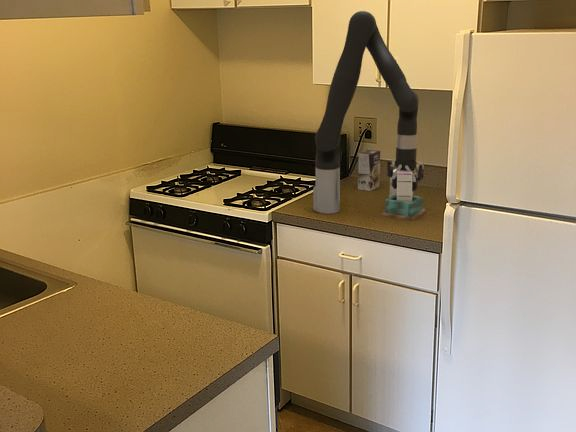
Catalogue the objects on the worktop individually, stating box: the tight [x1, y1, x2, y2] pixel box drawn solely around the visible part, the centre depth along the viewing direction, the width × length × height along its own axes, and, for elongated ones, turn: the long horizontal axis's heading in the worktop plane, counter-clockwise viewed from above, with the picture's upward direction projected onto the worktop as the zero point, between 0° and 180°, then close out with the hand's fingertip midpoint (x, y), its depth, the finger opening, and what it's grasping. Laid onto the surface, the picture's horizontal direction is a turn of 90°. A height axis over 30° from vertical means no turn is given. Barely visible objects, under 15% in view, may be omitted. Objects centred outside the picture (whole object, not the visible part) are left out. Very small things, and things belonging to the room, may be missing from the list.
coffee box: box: [357, 149, 381, 192], centre depth 276 cm, size 9×6×16 cm
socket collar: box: [380, 194, 427, 222], centre depth 242 cm, size 13×13×6 cm
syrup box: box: [397, 170, 414, 203], centre depth 240 cm, size 6×6×14 cm
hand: (404, 189), depth 240 cm, fingers closed on syrup box, 7 cm apart
